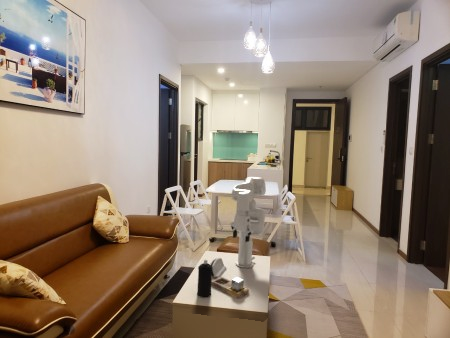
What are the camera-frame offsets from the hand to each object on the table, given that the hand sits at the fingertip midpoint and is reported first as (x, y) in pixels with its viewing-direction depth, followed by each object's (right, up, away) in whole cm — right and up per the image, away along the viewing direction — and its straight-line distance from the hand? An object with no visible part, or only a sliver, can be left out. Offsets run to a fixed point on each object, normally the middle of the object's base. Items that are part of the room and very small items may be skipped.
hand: (240, 239), depth 189 cm
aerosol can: (-22, -28, -14) cm, 38 cm away
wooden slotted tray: (-7, -28, -6) cm, 30 cm away
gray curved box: (-15, -26, +14) cm, 33 cm away
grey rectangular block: (-3, -29, -10) cm, 31 cm away
